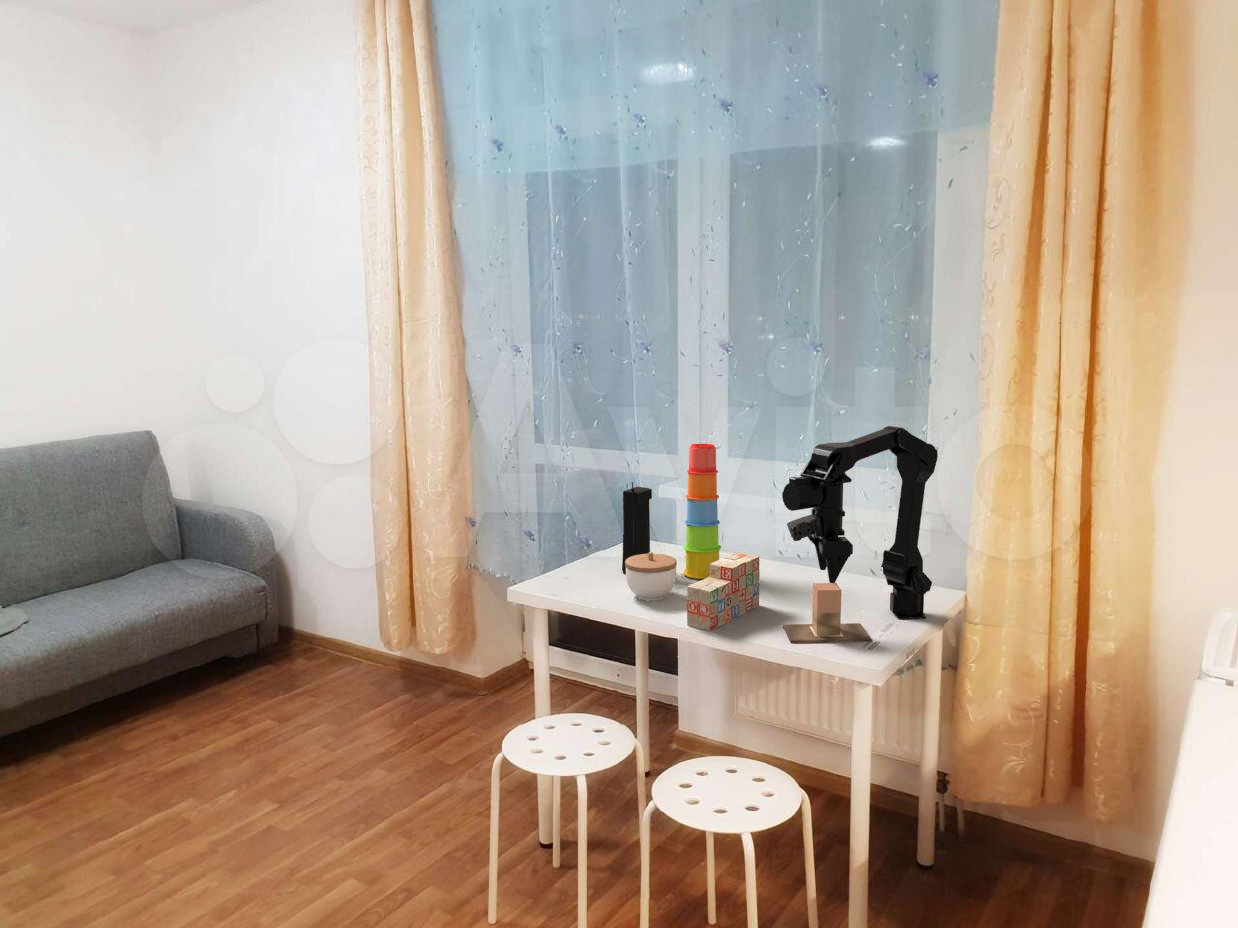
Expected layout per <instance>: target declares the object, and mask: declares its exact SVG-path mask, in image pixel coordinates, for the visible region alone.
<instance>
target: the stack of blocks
mask: <svg viewBox="0 0 1238 928" xmlns="http://www.w3.org/2000/svg"><path fill="white" fill-rule="evenodd" d="M760 575H761V573H760V556H758V555H753V554H747V553H739V552H735V553H733V554H728V555H727V556H724V557H723V558H719V560H718V561H716V562H713V563H711V564H710V573H709V577H708V578H706V579H700V580H699V581H697V582H695V583H693V584H689V585H687V593H686V594H687V596H686V597H687V599H686V625H687V626H690V627H692V628H697V629H699V630H700V629H701V630H705V631H709V632H710V631H712V630H714V629H717V628H718V627H720V626H722V625H724V624H726V623H728V622H731V621H732V620H733V619H736V618H737V617H739V616H741V615H743V614H745V613H747V612H749V611H751V610H753V609H755V608H757V607H759V606H760Z"/></svg>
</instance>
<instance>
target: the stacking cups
mask: <svg viewBox="0 0 1238 928" xmlns="http://www.w3.org/2000/svg"><path fill="white" fill-rule="evenodd" d="M715 446H716V445H715V444H712V443H691V444H690V447H689V449H688V469H687V470H686V473H687V494H686V495H685V498H686V520H685V521H684V524H685V526H686V527H685V534H686V535H685V537H686V538H685V539H686V540H685V541H686V543H685V545H684V546H683V550H684V551H685V570H683V575H684V576H685V577H687V578H690V579H697V580H704V579H706V578H708V577H709V573H710V564H711V563H713V562H716V561H718V560H720V550H721V549H722V546H721V545H719V524H720V523H721V522H720V520H719V519H718V518H719V517H718V515H719V513H718V512H719V511H718V499H719V498H720V496H719V494H718V488H717V486H718V482H717V479H718V478H717V477H718V476H717V475H718V472H719V471H718V469H717V447H715Z"/></svg>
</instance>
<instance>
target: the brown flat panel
mask: <svg viewBox="0 0 1238 928" xmlns="http://www.w3.org/2000/svg"><path fill="white" fill-rule="evenodd" d="M782 628H783V630H784V631H785V634H786V636H787V638H788V640H789V642H790V644H799V643H800V644H803V643H804V644H806V643H807V644H810V643H814V644H815V643H866V642H867V643H870V642H871V643H872V640H873V639H872V638H871V636H870V635H869V633H868V632H867V631H866V629H865V628H864V626H863V625H862V623H860V622H857V623H855V622H853V623H841V626H840V635H816V633H815V631H814V630H813V628H812V623H798V624H797V623H793V624H792V623H791V624H787V623H785V624H782Z"/></svg>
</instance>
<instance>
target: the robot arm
mask: <svg viewBox="0 0 1238 928" xmlns="http://www.w3.org/2000/svg"><path fill="white" fill-rule="evenodd" d="M888 450H889V452H890V453H892V454H893V455H894V456H895V457H896V468H897V470H898V473H899V476H900V478H901V479H900V480H901V488H900V489H901V490H900V495H899V502H898V511H897V512H898V513H897V520H896V521H897V522H896V530H895V537H894V543H893V544H892V546H891V547H890V549H888V550H887V549H885V550H884V551H883V552H882V563H881V565H880V567H881V568H882V574H883V575H884V577H885V580H886V583H887V585H888V586H892V592H890V594H889V610H890V612H891V613H892V614H893V615H894V616H895V617H896V618H897V619H926V617H927V616H926V614H925V613H924V611H925V610H924V609H925V608H924V606H925V595H926V594H927V593H928V592H930V591H931V589H932V584H933V582H932V580H931V579H930V578H929V577H928V576H927V574H926V573H925V572H924V559H923V557H922V556H923V555H922V554H921V552H920V549H919V547H918V545H919V544H918V543H919V537H920V527H921V520H922V513H923V505H924V496H925V490H926V483H927V482H928V480H929V479H930V478H931V477H932V475H934V473H935V469H936V466H937V463H938V457H939V456H938V450H937V449H936V446H934V445H933V444H932V443H927V442H926V441H924V440H923V439H921V438H919V437H917V436H915V435H914V434H912V433H911V432H910V431H908V430H907V429H905V428H904V427H899V426H894V425H893V426H892V425H888V426H884V428H882V429H880V430H877V431H874V432H870V433H868V434H865V435H862V436H860V437H857V438H854V439H851V440H848V441H845V442H844V441H843V442H827V443H820V444H818V445H816V446H814V448H813V450H812V453H811V455H810V457H809V459H808V461H807V462H806V464H805V465H804V467H803V469H802V471H801V472H800V474H799V475H800V476H797V477H796V476H791V477H789V478H788V483H786V485H785V486H784V488H783V490H782V492H781V497H782V498H781V499H782V501H783V504H784V507H785V508H786V509H787V510H789V511H791V512H793V511H801V510H806V509H811V512H810V513H811V514H808V515H805V516H801V517H799V518H796V519H794V520H791V521H789V522H786V526H787V528H788V531H789V534H790V537H791V539H792V540H793V542H799V541H802V539H804V538H808V540H809V541H810V542H811V543H812V544H814V548H815V551H816V556H817V561H818V562H817V563H818V565H819V570H820V571H826V570H827V575H828V577H827V578H828V583H837V582H836V581H837V579H838V577H839V575H840V574H841V572H842V569H843V568H844V566H845V564H846V562H847V561H848V559H849V558H850V557H851V555H853V554H854V549H853V548H854V545H853V543H852V542H851V541H850V540H849V539H848V538H847V537H846V536H845V534H846V533H845V529H843V517H846V511H845V510H844V484H846V483H852V480H853V479H852V478H851V477H850V476H849V475H847V474H846V473H847V472H848V471H850V470H851V469H853V468H854V466H855V464H856V463H857V462H859V461H861V460H864V459H867V458H869V457H872V456H874V455H877V454H880V453H882V452H884V451H885V452H886V451H888Z"/></svg>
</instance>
